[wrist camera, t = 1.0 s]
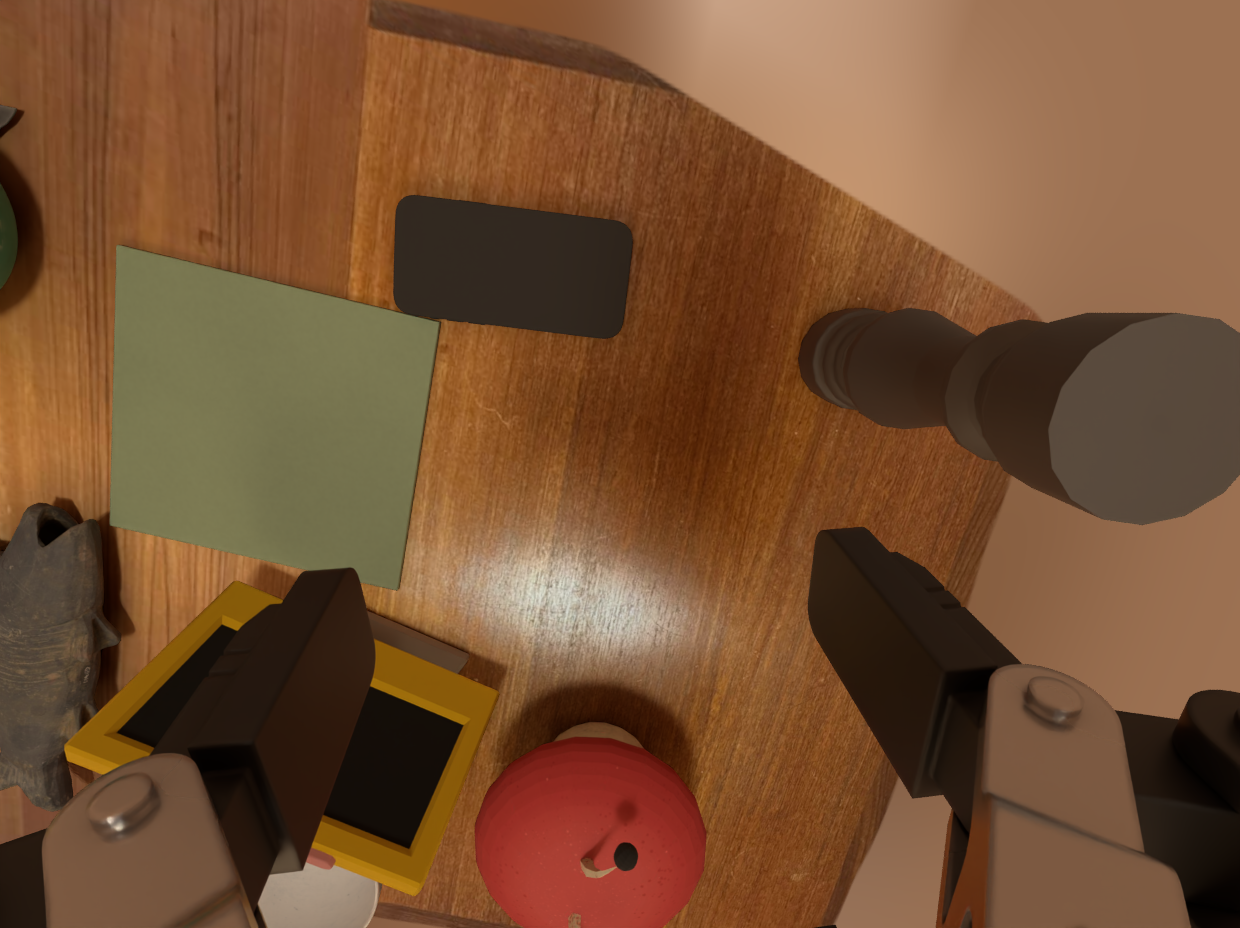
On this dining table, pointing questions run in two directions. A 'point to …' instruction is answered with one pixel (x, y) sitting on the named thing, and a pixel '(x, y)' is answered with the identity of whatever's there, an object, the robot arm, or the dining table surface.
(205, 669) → the yellow framed monitor
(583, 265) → the phone
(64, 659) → the ceramic vessel
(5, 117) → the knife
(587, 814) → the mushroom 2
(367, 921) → the chinaware
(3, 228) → the mug
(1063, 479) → the candle holder
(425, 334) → the mat
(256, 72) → the dining table surface
